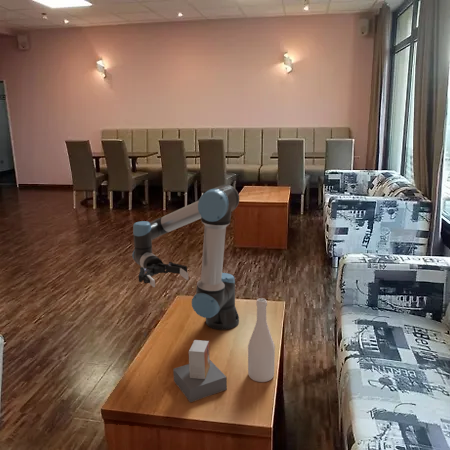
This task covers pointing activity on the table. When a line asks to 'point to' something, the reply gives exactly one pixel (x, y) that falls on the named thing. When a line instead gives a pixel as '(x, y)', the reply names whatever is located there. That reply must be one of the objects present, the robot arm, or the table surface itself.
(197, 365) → the small box
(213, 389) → the plinth
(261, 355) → the wine bottle
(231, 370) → the table surface
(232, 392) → the table surface
